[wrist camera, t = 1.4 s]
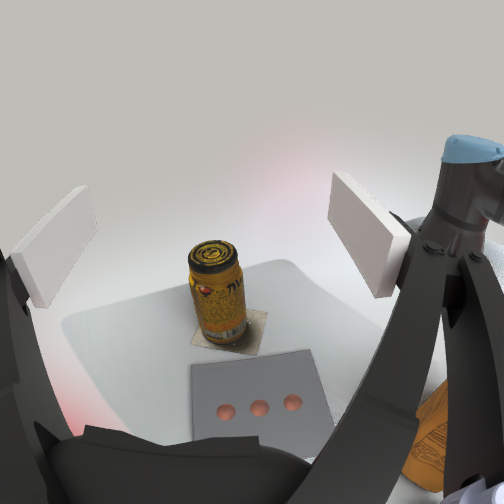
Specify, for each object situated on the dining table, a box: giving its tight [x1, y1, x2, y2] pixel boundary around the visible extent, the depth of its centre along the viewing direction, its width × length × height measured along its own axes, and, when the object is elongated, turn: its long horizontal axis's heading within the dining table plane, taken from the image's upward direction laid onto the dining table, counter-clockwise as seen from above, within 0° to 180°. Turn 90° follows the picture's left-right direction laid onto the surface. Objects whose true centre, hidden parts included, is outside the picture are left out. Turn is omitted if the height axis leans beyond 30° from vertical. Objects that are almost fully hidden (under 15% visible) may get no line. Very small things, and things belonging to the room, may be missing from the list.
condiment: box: [188, 240, 268, 355], centre depth 33 cm, size 7×8×12 cm
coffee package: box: [402, 379, 448, 493], centre depth 14 cm, size 10×12×22 cm
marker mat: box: [192, 349, 335, 459], centre depth 27 cm, size 14×13×1 cm
